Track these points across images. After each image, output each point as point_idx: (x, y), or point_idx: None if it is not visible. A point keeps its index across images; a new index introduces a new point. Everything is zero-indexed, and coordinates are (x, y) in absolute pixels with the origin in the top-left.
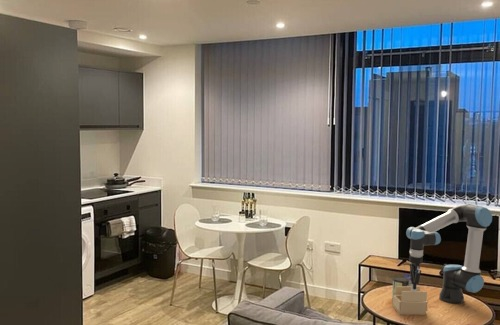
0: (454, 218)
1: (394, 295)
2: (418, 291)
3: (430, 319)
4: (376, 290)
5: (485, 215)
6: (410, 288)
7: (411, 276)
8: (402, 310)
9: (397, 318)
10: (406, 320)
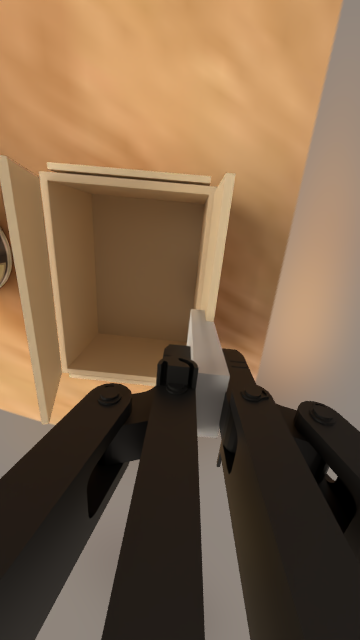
0: None
1: (69, 372)
2: (216, 294)
3: (279, 207)
4: None
5: None
6: (34, 286)
7: (89, 529)
8: None
9: None
10: (263, 346)
